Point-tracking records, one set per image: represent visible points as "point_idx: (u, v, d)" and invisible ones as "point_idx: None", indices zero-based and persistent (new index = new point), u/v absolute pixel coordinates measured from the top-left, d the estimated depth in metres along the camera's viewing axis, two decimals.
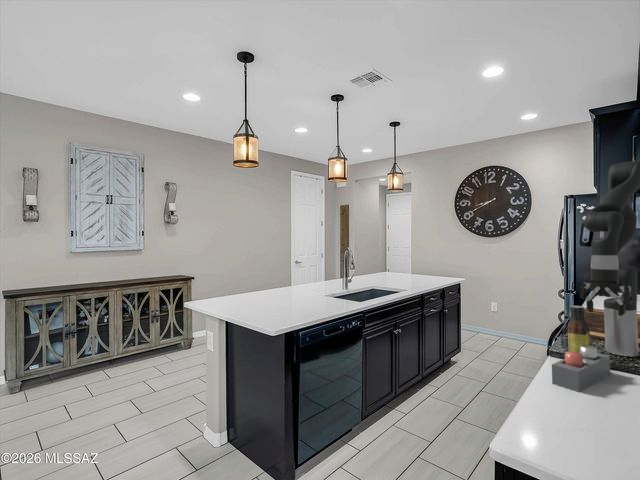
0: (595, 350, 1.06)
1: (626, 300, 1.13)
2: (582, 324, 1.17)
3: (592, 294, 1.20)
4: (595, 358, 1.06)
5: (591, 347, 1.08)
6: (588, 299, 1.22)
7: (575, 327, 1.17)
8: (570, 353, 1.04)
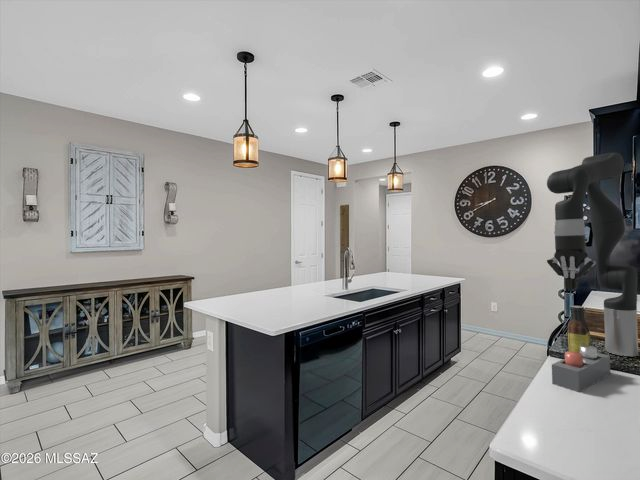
0: (595, 350, 1.06)
1: (577, 273, 1.00)
2: (582, 324, 1.17)
3: (564, 267, 1.03)
4: (595, 358, 1.06)
5: (591, 347, 1.08)
6: (567, 276, 1.03)
7: (575, 327, 1.17)
8: (570, 353, 1.04)
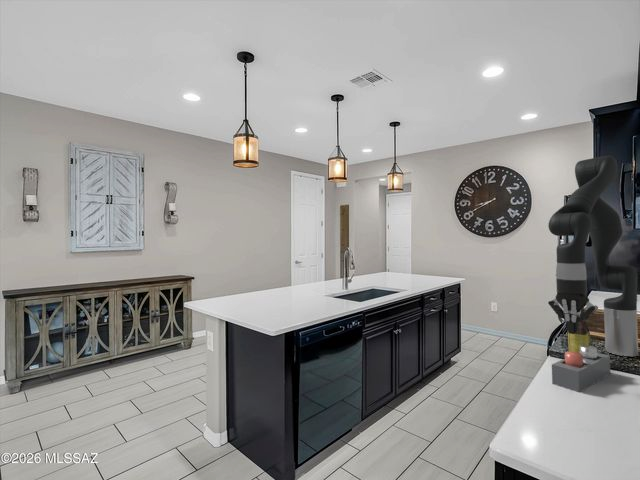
0: (595, 350, 1.06)
1: (579, 317, 1.01)
2: (582, 324, 1.17)
3: (565, 310, 1.03)
4: (595, 358, 1.06)
5: (591, 347, 1.08)
6: (568, 319, 1.03)
7: None
8: (570, 353, 1.04)
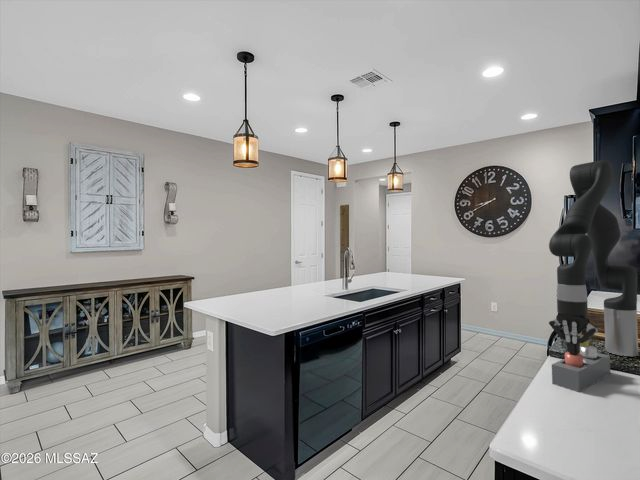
0: (595, 350, 1.06)
1: (580, 339, 1.01)
2: None
3: (566, 331, 1.03)
4: (595, 358, 1.06)
5: (591, 347, 1.08)
6: (569, 340, 1.03)
7: None
8: None
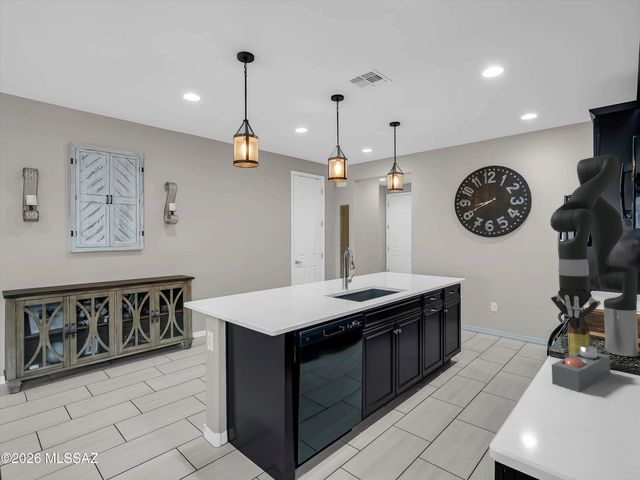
0: (595, 350, 1.06)
1: (582, 312, 1.01)
2: (582, 324, 1.17)
3: (568, 306, 1.04)
4: (595, 358, 1.06)
5: (591, 347, 1.08)
6: (571, 314, 1.04)
7: None
8: (570, 360, 1.04)
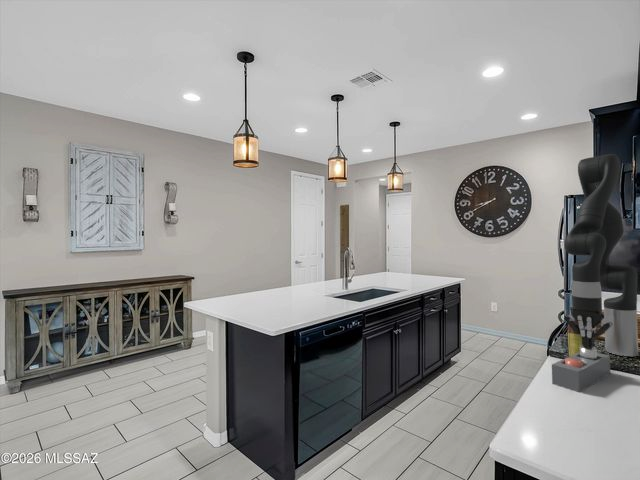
0: (595, 351, 1.06)
1: (594, 333, 1.06)
2: None
3: (581, 326, 1.08)
4: (595, 359, 1.06)
5: None
6: (583, 334, 1.08)
7: None
8: (570, 360, 1.04)
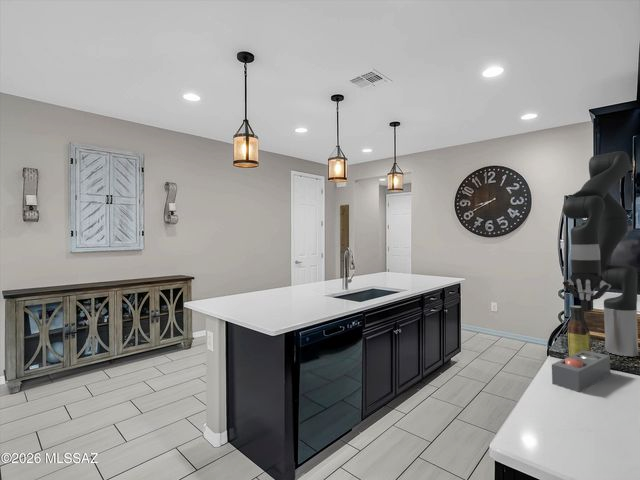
0: (595, 359, 1.06)
1: (593, 295, 1.06)
2: (582, 324, 1.17)
3: (580, 290, 1.08)
4: None
5: (591, 356, 1.08)
6: (582, 298, 1.08)
7: (575, 327, 1.17)
8: (570, 360, 1.04)
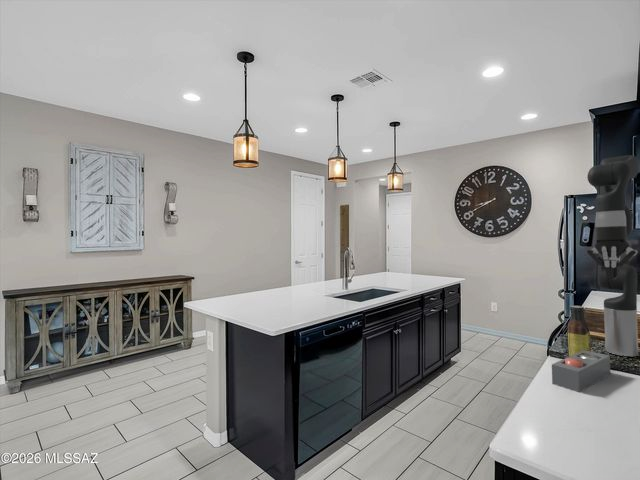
0: (595, 359, 1.06)
1: (619, 262, 1.05)
2: (582, 324, 1.17)
3: (605, 257, 1.08)
4: None
5: (591, 356, 1.08)
6: (608, 265, 1.08)
7: (575, 327, 1.17)
8: (570, 360, 1.04)
